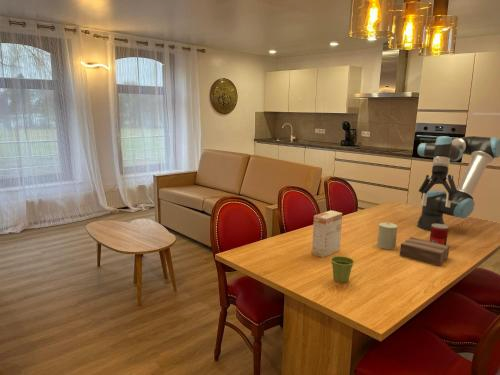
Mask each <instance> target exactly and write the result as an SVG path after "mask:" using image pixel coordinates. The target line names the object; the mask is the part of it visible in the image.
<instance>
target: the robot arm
mask: <svg viewBox="0 0 500 375" xmlns="http://www.w3.org/2000/svg"><path fill="white" fill-rule="evenodd" d="M435 140H436V141H435V142H432V143H427V142H424V143H423V142H421V143H420V144H418V146H417V154H418V155H419V157H424V158H425V157H426V158H433V161H432V169H431V173H432V174H431V175H428V174H426V176H425V179H424V181H423V182H422V184H421V186H420V188H419V189H418V192H419V193H421V197H420V198H421V214H420V216H419V218H418V221H417V224H416V226H417V227H418V228H419V229H421V230H422V229H423V230H425V231H430V232H431V226H432V224H444V225H445V222H444V218H443V217H444V215H448V216H452V217H455V218H461V219H466V218H469V216H471V214H472V213H473V211H474V210H475V209H474V208H475V205H476V204H475V201H474V196H473V195H474V192H475V189H476V188H477V185H478V184H479V182H480V180H481V178H482V176H483V174H484V173H485V170H486V168H487V166H488V164H489V163H492V162H493V160H494V159H497V158H500V139H499V138H498V137H493V136H490V137H488V136H473V135H469V136H468V135H467V136H463V137H457V138H452V137H450V136H447V135H446V136H442V135H441V136H438V137H436V139H435ZM463 155H468V156H471V159H470V161H469V164H468V166H467V168H466V169H465V172H464V173H463V175H462V178H461V179H460V181H459V183H458V185H457V187H456V184H455V181H454V175H452V174H449V167H450V161H452V162H457V161H459V160H460V159H461V158H462V157H463ZM435 185H442V186H443V187H444V188H445V190H441V189H437V190H436V189H434V190H433V189H432V187H434V186H435ZM431 189H432V190H431Z"/></svg>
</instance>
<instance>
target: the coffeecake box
mask: <svg viewBox="0 0 500 375" xmlns="http://www.w3.org/2000/svg"><path fill="white" fill-rule="evenodd" d="M342 218H343V212H339V211H336V210H327V211H324V212H321V213H318V214H315V215H313V225H312V226H313V227H312V242H311V243H312V244H311V245H312V246H311V254H312V255H314V256H317V257H320V258H326V257H328V256H330V255H332V254H334V253H337V252H338V251H340V250H341V240H342V238H341V236H342V223H343V222H342V221H343V219H342Z"/></svg>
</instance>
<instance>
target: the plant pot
mask: <svg viewBox="0 0 500 375" xmlns="http://www.w3.org/2000/svg"><path fill="white" fill-rule="evenodd" d="M330 262H331V265H332V276H333V281H334V282H337V283H338V284H339V283H341V284H344V283H345V284H347V282H349V280H350V275H351V271H352V268H353V265H354V264H355V260H354V259H352V258H351V257H348V256H345V255H344V256H342V255H336V256H332V257H331V258H330Z"/></svg>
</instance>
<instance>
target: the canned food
mask: <svg viewBox="0 0 500 375" xmlns="http://www.w3.org/2000/svg"><path fill="white" fill-rule="evenodd" d="M429 235H430V236H429V241H430V242H434V243H438V244H443V245H447V241H448V235H449V226H448V225H447V224H445V223H444V224H432V226H431V231H430V234H429Z"/></svg>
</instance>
